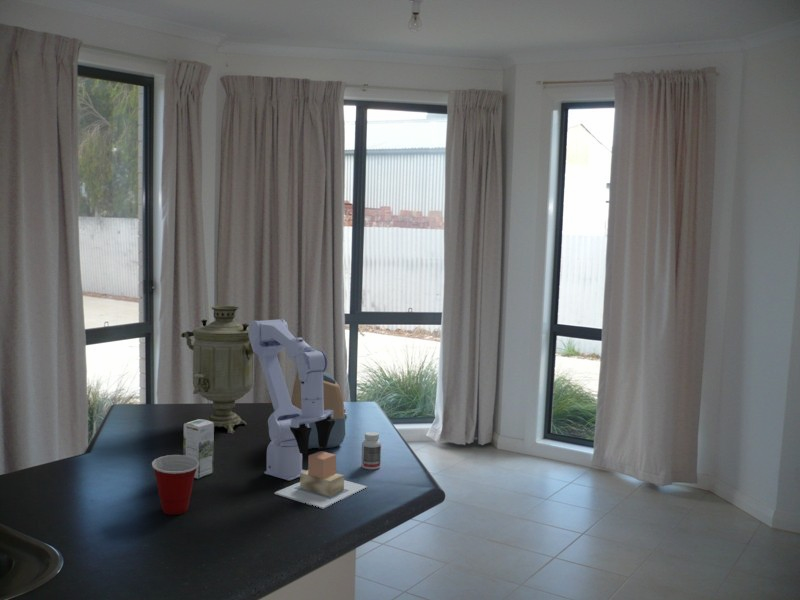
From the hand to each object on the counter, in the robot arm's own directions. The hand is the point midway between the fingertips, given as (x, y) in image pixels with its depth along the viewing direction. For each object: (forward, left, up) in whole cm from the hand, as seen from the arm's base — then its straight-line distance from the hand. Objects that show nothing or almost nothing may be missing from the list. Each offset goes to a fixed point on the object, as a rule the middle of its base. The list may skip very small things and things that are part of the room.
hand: (313, 450), depth 193 cm
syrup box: (-32, -10, -11) cm, 35 cm away
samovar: (-61, +23, -11) cm, 65 cm away
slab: (+2, +1, -10) cm, 10 cm away
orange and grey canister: (-26, +32, -11) cm, 42 cm away
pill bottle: (+1, +24, -11) cm, 26 cm away
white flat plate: (+2, +1, -11) cm, 11 cm away
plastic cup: (-17, -30, -11) cm, 36 cm away
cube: (+2, +1, -6) cm, 6 cm away
